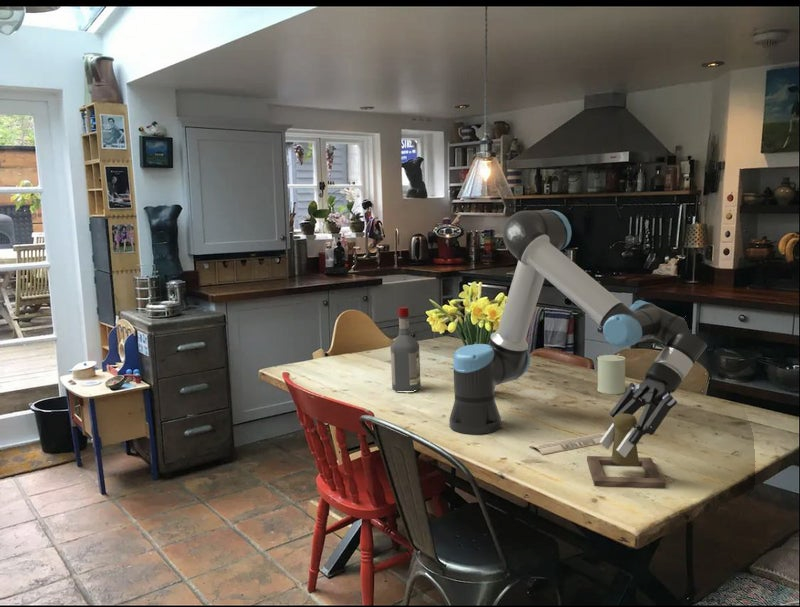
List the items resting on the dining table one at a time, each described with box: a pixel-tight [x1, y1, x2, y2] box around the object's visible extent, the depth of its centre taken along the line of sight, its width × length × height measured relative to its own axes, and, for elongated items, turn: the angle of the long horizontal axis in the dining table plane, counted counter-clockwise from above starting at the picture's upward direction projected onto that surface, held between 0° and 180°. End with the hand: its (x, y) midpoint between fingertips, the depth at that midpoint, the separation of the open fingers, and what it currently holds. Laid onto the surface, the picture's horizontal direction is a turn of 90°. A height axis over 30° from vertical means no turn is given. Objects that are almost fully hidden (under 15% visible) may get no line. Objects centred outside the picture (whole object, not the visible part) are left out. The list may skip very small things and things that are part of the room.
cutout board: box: [586, 455, 666, 489], centre depth 149 cm, size 15×15×1 cm
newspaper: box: [529, 431, 607, 456], centre depth 169 cm, size 24×7×2 cm, turn 111°
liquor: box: [390, 306, 422, 391], centre depth 228 cm, size 9×9×30 cm
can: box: [596, 354, 627, 395], centre depth 218 cm, size 9×9×12 cm
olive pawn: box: [611, 413, 639, 466], centre depth 148 cm, size 6×6×11 cm
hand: (612, 449), depth 147 cm, fingers closed on olive pawn, 5 cm apart
